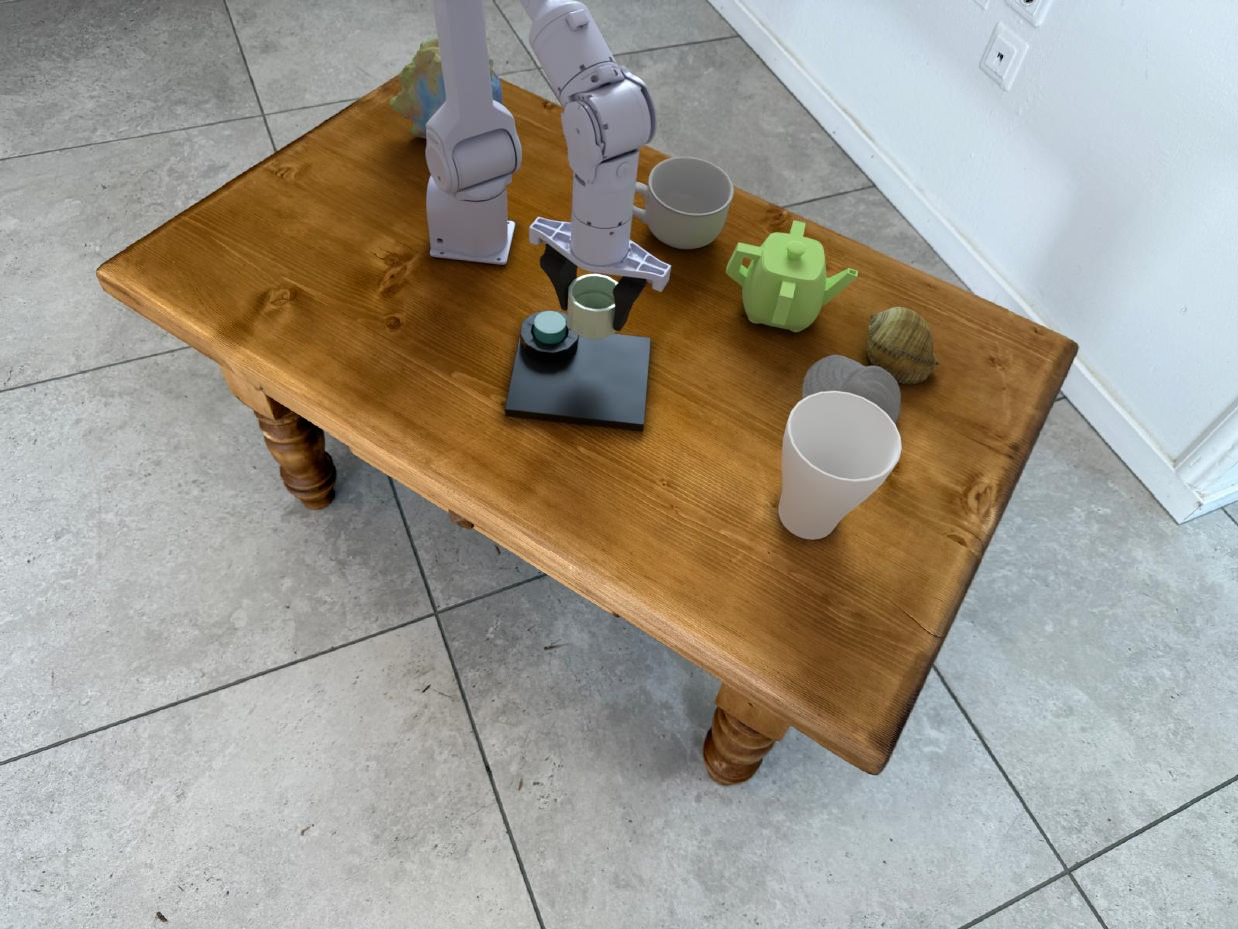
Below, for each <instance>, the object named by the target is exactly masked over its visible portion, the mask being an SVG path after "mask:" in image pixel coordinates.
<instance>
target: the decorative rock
mask: <svg viewBox="0 0 1238 929" xmlns="http://www.w3.org/2000/svg"><path fill="white" fill-rule="evenodd" d="M488 58H489V67H490V77H491V87H492V97H493V100H495V101H497V102H498V103H500V104H502V105H503V88H502V84H501V80H500V77H499V76H498V73H497V72H496V70H495V68H494V59H493V58H492V57H491V56H490V55H489V54H488ZM397 80H398V82H399V84H400V85H399V86H400V88H401V90H402V91H399V92H398V93H397V94H396V96H393V97H391V98H390V99H389V107H390V108H391V109H392V110H393V111H394V112H396V113H397V114H398V115H399V116H401V117H402V118H404V119H406V120H411V121H413V123H414V124H412V125H411V126H410V129H409V133H410V134H411V135H412V136H414V137H418V138H422V139H426V140H427V136H426V123H427V122H428V121H429V120H430V118H431V117H432V116H433V115H434V114H435V113H436V112H437V111H438V109H439V108H440V107H441V106H442V105H443V104H444V102H445V101H446V93H445V86H444V79H443V72H442V65H441V58H440V51H439V43H438V36H434V37H430V38H427V39H426V40H425V41H423V42H421V43H420V44H419V49H418V50H416V54H415V55H413V57H412V60H411V61H410V62H409V63H406V64H405V65H404V67H403V68H402V70H401V71H399V72H398V74H397Z"/></svg>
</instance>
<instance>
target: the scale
mask: <svg viewBox="0 0 1238 929" xmlns="http://www.w3.org/2000/svg"><path fill="white" fill-rule="evenodd" d="M544 311H551V310H550V309H545V310H540V311H536V312H533V313H531V314H530V315H529V316H527V318H525V319H524V320H523V321H522V322H521V326H520V331H519V336H518V341H517V346H516V351H515V355H514V361H513V365H512V366H513V367H512V372H511V376H510V381H509V386H508V390H507V396H506V401H505V406H504V416H505V417H509V418H517V419H519V418H520V419H529V420H537V421H546V422H553V423H554V422H556V423H564V424H574V425H580V426H581V425H582V426H589V427H600V428H609V429H617V430H618V429H619V430H625V431H627V430H628V431H636V432H644V428H645V420H646V407H647V393H648V384H649V383H648V382H649V381H648V380H649V369H650V358H651V357H650V356H651V343H652V338H651V337H647V336H638V335H628V334H621V333H620V334H619V333H614V334H612V335H610V336H608V337H607V338H601V339H588V338H584V337H581V336H579V335H578V334H576V333H574V332H573V331H572V330H571V328H570V327H569V325H568V323H567V314H566V313H564V312H562V311H558V310H554V311H555V312H558V313H560V314H561V315H563V317H564V318H565V320H566V335H565V338H564V339H563V340H562V341H561V342H559V343H557V344H552V345H550V344H544V343H541V342H539V341H538V340H537V339H536V338H535V336H534V319H535V317H536V316H537V315H538V314H539V313H541V312H544Z"/></svg>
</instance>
